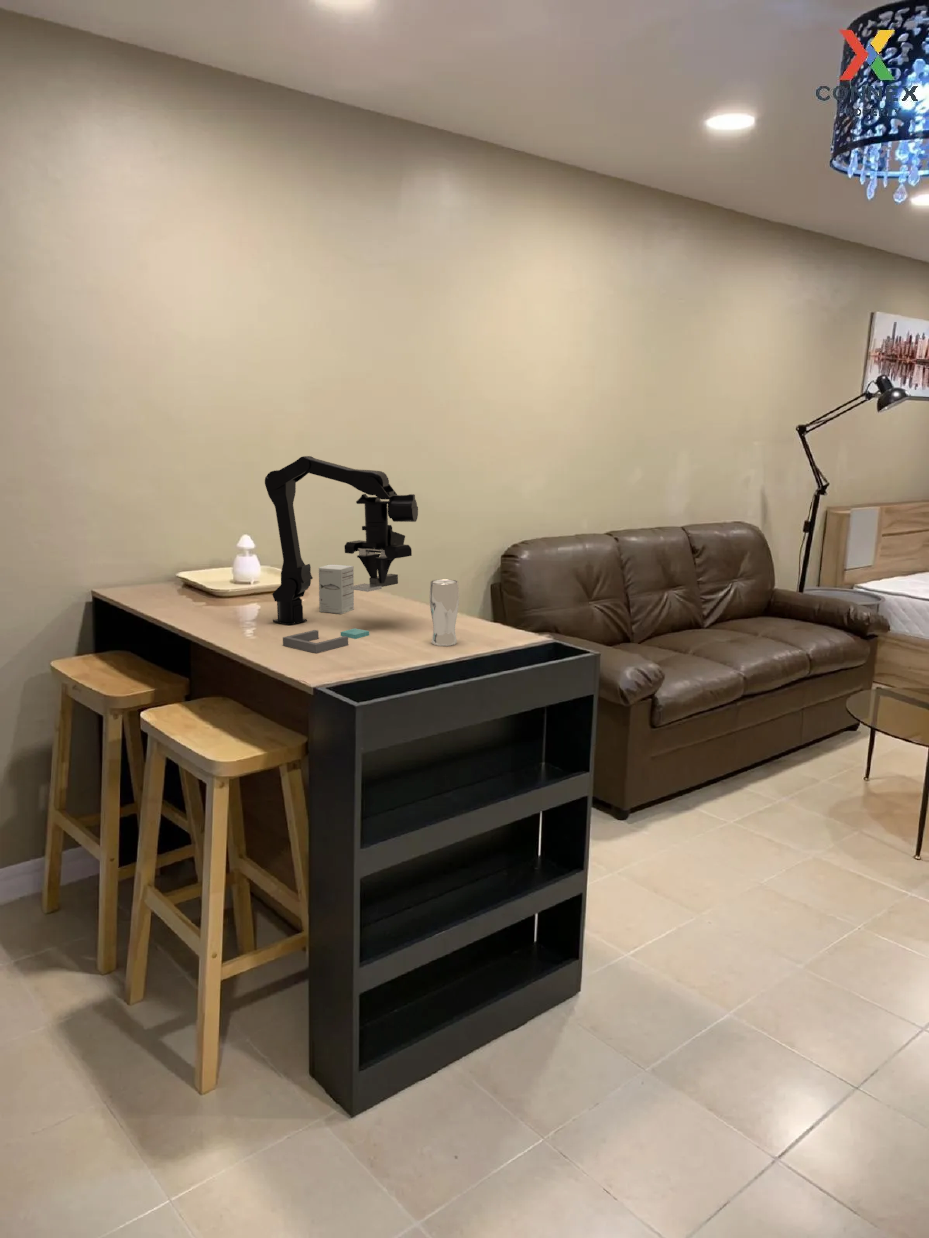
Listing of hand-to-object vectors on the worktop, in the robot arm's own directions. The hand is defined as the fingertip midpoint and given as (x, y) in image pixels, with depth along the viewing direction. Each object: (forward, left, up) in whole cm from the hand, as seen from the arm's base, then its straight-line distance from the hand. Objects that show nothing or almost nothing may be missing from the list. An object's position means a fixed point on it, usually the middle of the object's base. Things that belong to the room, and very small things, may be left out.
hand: (378, 582), depth 230 cm
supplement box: (-23, +7, -12) cm, 27 cm away
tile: (+2, -11, -12) cm, 16 cm away
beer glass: (+24, -3, -12) cm, 27 cm away
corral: (+2, -23, -12) cm, 26 cm away
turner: (0, -1, -1) cm, 1 cm away
